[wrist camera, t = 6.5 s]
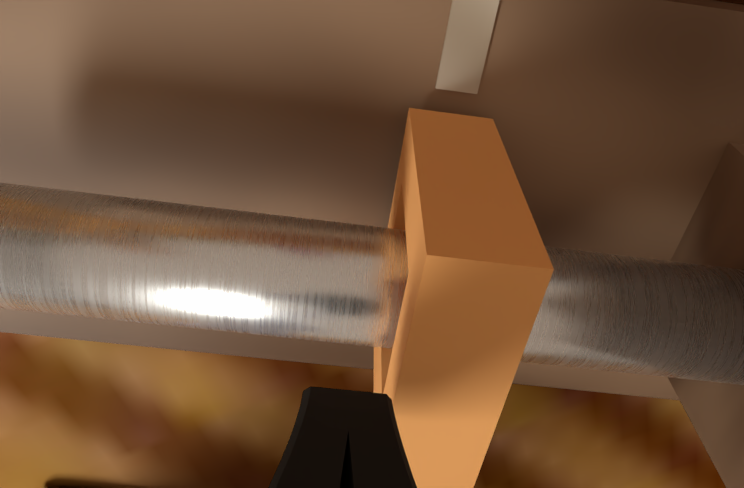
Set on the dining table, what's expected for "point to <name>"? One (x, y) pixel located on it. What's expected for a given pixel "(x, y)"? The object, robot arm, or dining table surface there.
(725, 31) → the pipe board
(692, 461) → the dining table surface
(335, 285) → the pipe
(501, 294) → the collar
